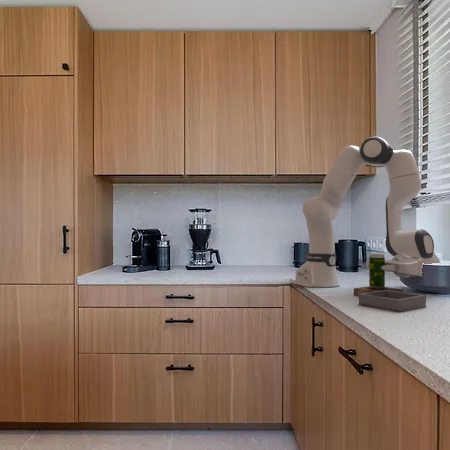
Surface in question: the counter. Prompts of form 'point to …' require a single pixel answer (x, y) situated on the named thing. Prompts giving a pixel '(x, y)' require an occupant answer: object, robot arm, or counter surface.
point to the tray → (392, 300)
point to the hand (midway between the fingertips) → (375, 266)
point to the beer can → (376, 271)
